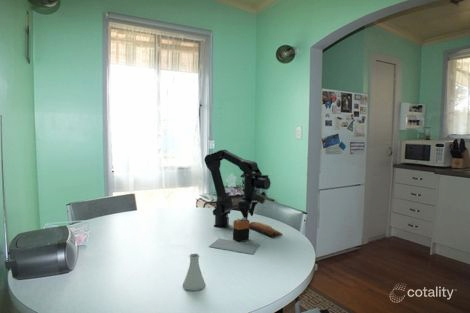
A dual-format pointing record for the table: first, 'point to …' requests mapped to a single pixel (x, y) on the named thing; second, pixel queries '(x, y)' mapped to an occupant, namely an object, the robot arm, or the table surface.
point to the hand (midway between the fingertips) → (248, 218)
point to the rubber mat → (235, 246)
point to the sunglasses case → (265, 229)
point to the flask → (194, 275)
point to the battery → (241, 229)
